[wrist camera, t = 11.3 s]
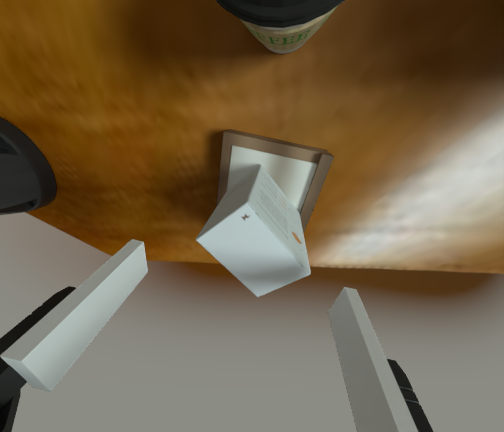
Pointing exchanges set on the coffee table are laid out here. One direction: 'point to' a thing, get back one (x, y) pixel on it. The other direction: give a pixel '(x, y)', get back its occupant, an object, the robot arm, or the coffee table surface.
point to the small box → (257, 234)
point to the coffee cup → (282, 20)
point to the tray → (275, 167)
